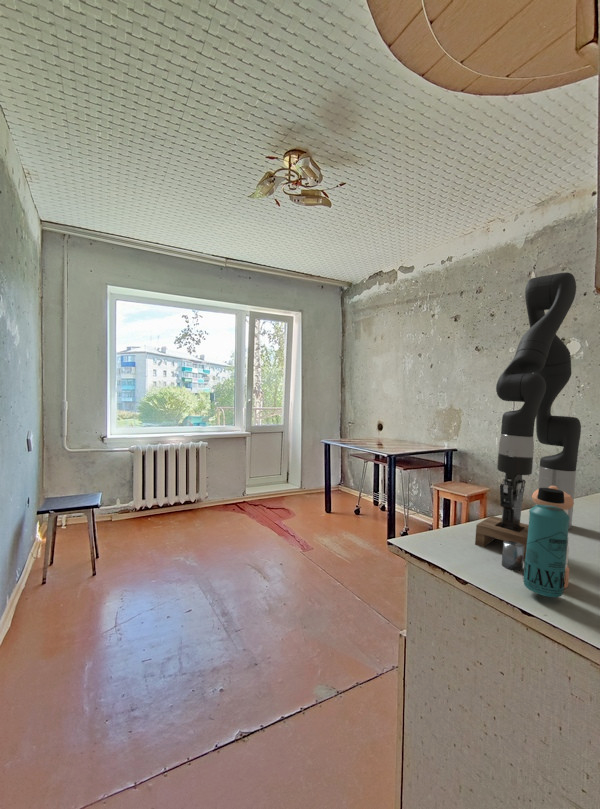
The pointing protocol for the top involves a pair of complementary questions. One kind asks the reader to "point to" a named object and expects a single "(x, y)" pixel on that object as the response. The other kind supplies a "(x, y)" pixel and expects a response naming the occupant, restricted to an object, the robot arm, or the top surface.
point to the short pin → (513, 555)
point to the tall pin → (517, 515)
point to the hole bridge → (499, 532)
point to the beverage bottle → (547, 545)
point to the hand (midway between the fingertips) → (510, 521)
